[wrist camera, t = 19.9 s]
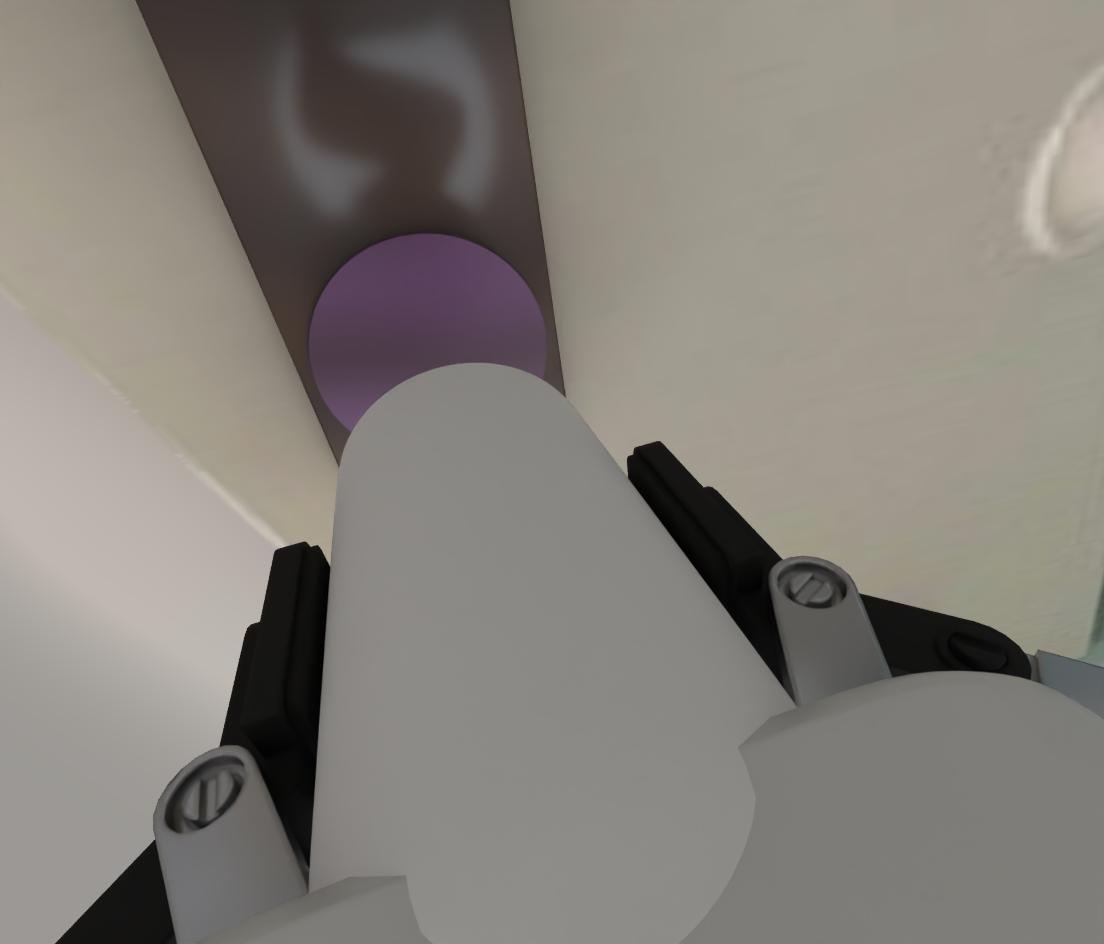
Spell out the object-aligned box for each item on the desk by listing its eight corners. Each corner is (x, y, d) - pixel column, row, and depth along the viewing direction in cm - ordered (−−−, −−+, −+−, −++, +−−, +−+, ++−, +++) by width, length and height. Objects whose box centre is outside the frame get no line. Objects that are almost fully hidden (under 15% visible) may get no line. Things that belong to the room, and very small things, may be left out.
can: (360, 587, 15) (356, 1385, 6) (312, 366, 12) (97, 1424, 2) (580, 549, 17) (873, 1122, 7) (594, 345, 14) (1178, 909, 4)
